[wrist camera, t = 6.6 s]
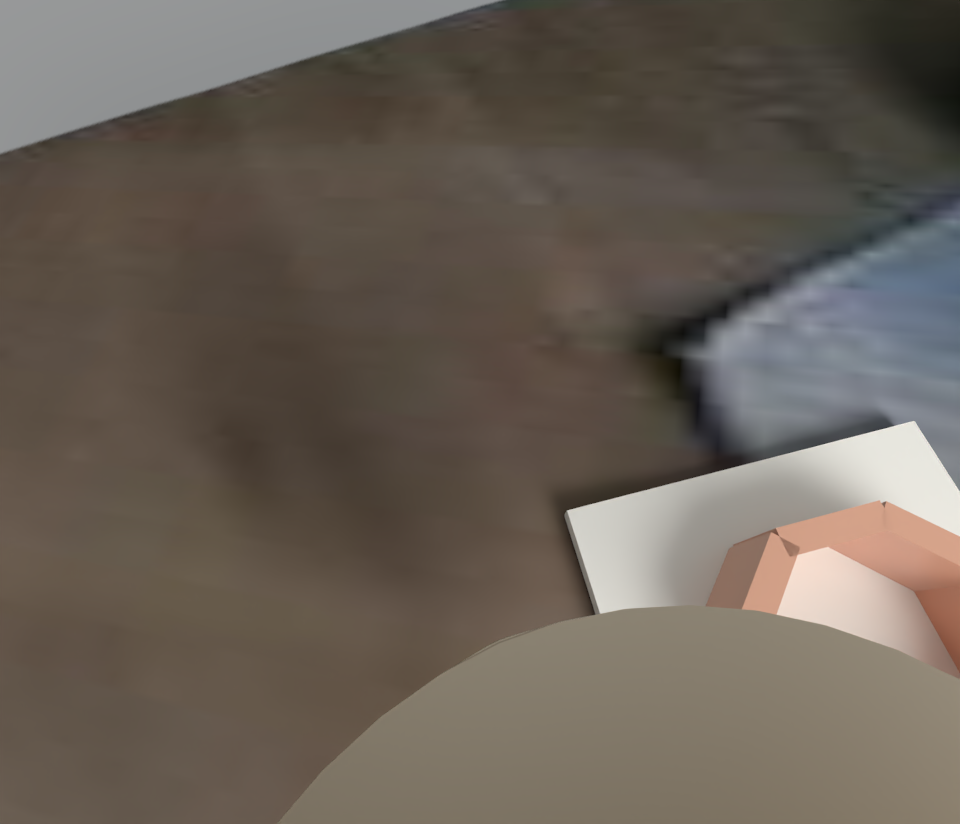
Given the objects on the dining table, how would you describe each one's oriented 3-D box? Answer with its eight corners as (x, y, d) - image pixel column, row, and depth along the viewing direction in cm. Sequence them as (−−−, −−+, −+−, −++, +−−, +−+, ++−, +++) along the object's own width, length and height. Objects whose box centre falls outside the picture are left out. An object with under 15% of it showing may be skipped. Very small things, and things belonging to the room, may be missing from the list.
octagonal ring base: (1164, 856, 17) (1371, 924, 13) (719, 1005, 16) (794, 1129, 12) (898, 429, 24) (982, 385, 20) (564, 515, 23) (578, 488, 18)
